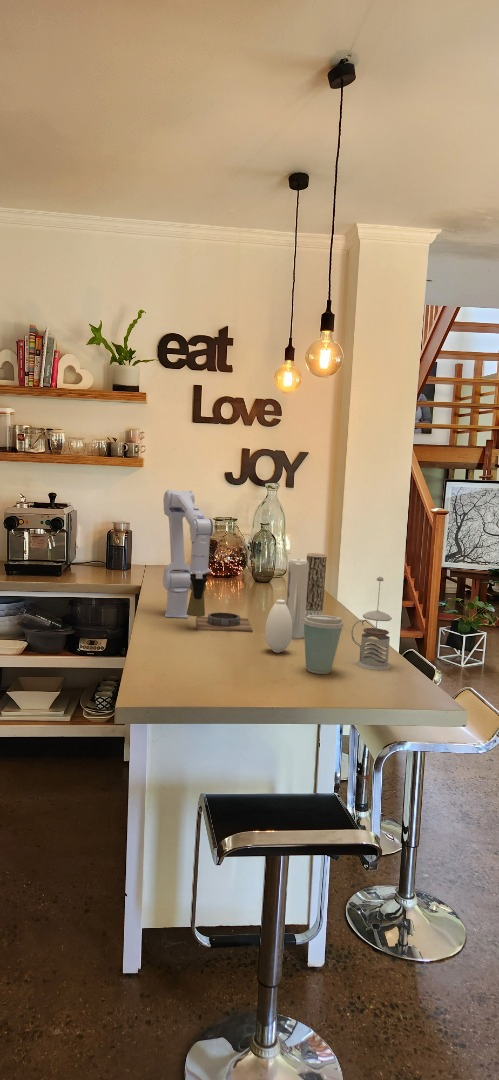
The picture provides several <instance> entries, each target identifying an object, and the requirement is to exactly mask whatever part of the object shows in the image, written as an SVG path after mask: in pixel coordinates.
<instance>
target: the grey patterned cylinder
mask: <svg viewBox="0 0 499 1080" xmlns="http://www.w3.org/2000/svg"><path fill="white" fill-rule="evenodd" d="M327 558H328V556H327V554H325V553H318V552H317V553H316V552H315V553H314V552H309V553H308V552H307V554H306V560H307V563H309V571H308V586H307V600H306V615H305V617H306V616H308V615H324V613H323V612H324V603H325V602H324V601H325V585H326V584H325V583H326V574H327V573H326V572H327Z"/></svg>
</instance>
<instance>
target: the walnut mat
mask: <svg viewBox="0 0 499 1080" xmlns="http://www.w3.org/2000/svg"><path fill="white" fill-rule="evenodd" d="M196 630H197V631H213V632H215V631H216V632H217V631H219V632H242V633H245V632H246V633H253V628H252V625H251V623H250V620H249V618H246V617H245V618H244V617H243V618H242V617H240V625H238V626H233V627H220V626H214V625H210V624H208V616H201V617H197V616H196Z"/></svg>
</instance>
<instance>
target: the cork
mask: <svg viewBox="0 0 499 1080" xmlns="http://www.w3.org/2000/svg"><path fill="white" fill-rule="evenodd" d="M206 588H207V583H206V584H205V586H204V589H203V594H202V598H201V599H194V592H193V585H192V582H191V584H190V591H191V592H190V596H189V599H188V600H189V601H188V604H187V615H188V617H189V616H190V617H196V618H197V617H206V613H205V612H206V609H205V591H206Z"/></svg>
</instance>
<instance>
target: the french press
mask: <svg viewBox="0 0 499 1080" xmlns="http://www.w3.org/2000/svg"><path fill="white" fill-rule="evenodd" d="M376 581H377V582H379V584H378V585H379V586H378V593H380V590H381V582H384V577H383V576H377V578H376ZM379 600H380V594H378V599H377V606H380V605H379V604H380V601H379ZM362 617H363V618H364V619H366V620H370V621H375V622H376V624H375V627H366V628H363V629H362V630H363V632H364V633H362V634H361V644H360V643H358V642H357V640H355V638H354V628H355V626H356V625H357V624H359V623H361V622H362V623H361V626H364V620H363V619H359V620H357V621H355V623H354V624H353V626H352V628H351V639H352V641H353V643H354V644H355V645H356V646H358V647H359V648H360V649H359V659H358V660H357V661H356V662H355V664H356V666H358V667H360V668H363V667H364V668H363V669H368V670H375V671H382V670H383V671H385V670H389V669H391V668H392V665H390V662H389V655H390V654H389V653H390V652H389V650H390V640H391V639H390V638H391V637H390V636H388V635H389V633H390V631H389V630H387V629H382V628H377V627H378V622H390V621H391V620H392V619H393V618H392V616H390V615H389V614H388V613H386V612H384V611H380V610H379V607H377V610H370V611H367V612H365V613H364V614H362ZM372 637H373V638H372ZM375 638H376V639H375Z"/></svg>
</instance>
